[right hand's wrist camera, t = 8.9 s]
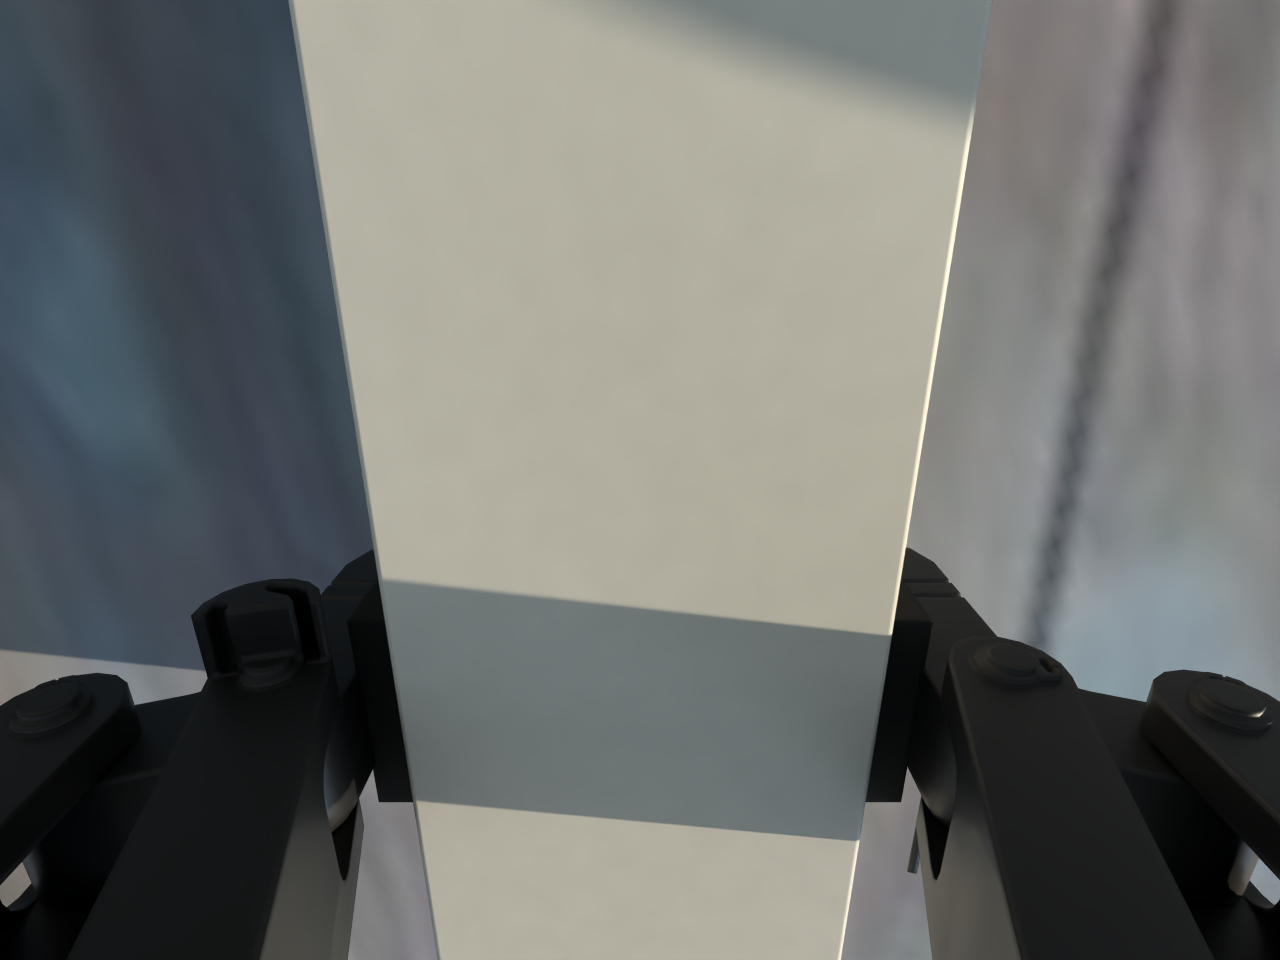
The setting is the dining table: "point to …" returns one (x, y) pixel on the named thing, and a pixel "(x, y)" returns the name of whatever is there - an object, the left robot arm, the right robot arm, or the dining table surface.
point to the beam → (639, 436)
